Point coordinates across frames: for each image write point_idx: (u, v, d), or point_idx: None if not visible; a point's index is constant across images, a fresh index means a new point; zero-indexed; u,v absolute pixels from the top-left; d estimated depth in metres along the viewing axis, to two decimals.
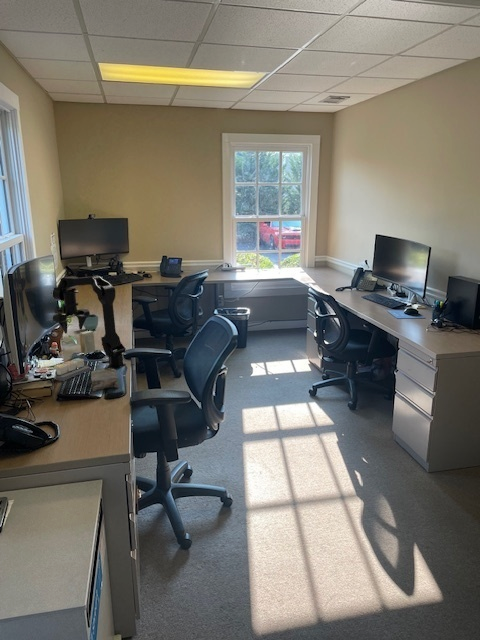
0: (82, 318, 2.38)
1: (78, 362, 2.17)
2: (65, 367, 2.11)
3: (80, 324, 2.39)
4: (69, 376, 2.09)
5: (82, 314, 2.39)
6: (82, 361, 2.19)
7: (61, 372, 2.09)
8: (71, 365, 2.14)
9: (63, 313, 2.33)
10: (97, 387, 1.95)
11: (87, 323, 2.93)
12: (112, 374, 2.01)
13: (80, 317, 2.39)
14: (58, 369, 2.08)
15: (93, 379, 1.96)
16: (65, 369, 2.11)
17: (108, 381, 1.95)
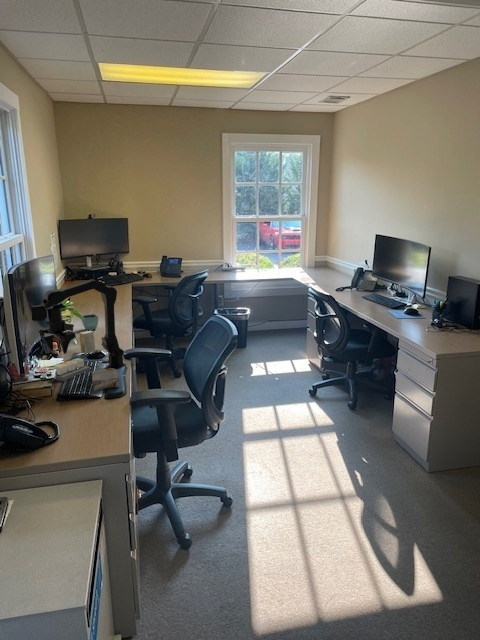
0: None
1: (78, 362, 2.17)
2: (65, 367, 2.11)
3: None
4: (69, 376, 2.09)
5: None
6: (82, 361, 2.19)
7: (61, 372, 2.09)
8: (71, 365, 2.14)
9: None
10: (98, 387, 1.95)
11: (87, 323, 2.93)
12: (113, 374, 2.01)
13: None
14: (58, 369, 2.08)
15: (94, 379, 1.96)
16: (65, 369, 2.11)
17: (109, 381, 1.96)
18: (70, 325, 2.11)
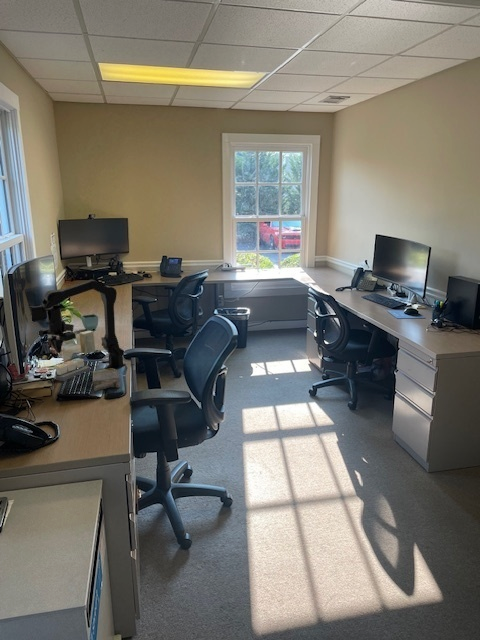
0: None
1: (78, 362, 2.17)
2: (65, 367, 2.11)
3: None
4: (69, 376, 2.09)
5: (57, 336, 2.06)
6: (82, 361, 2.19)
7: (61, 372, 2.09)
8: (71, 365, 2.14)
9: None
10: (98, 387, 1.95)
11: (87, 323, 2.93)
12: (113, 374, 2.01)
13: None
14: (58, 369, 2.08)
15: (95, 379, 1.96)
16: (65, 369, 2.11)
17: (109, 381, 1.96)
18: (70, 325, 2.10)
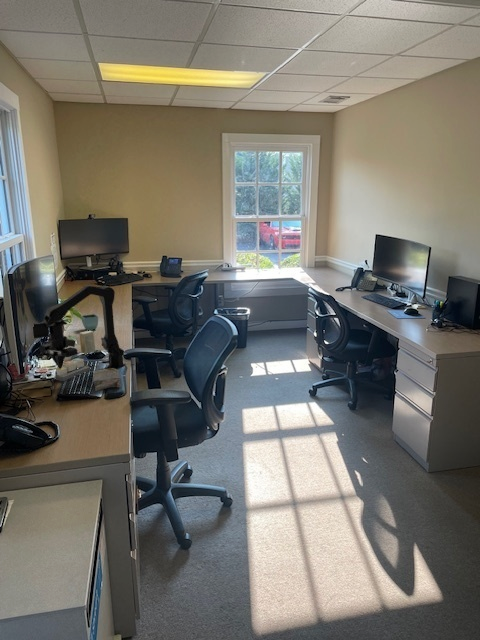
0: None
1: (78, 362, 2.17)
2: (65, 370, 2.11)
3: None
4: (69, 376, 2.09)
5: (59, 352, 2.07)
6: (82, 361, 2.19)
7: None
8: (71, 365, 2.14)
9: None
10: (99, 387, 1.95)
11: (87, 323, 2.93)
12: (114, 374, 2.01)
13: None
14: (58, 372, 2.08)
15: (95, 379, 1.96)
16: (65, 372, 2.11)
17: (110, 381, 1.96)
18: (72, 341, 2.12)
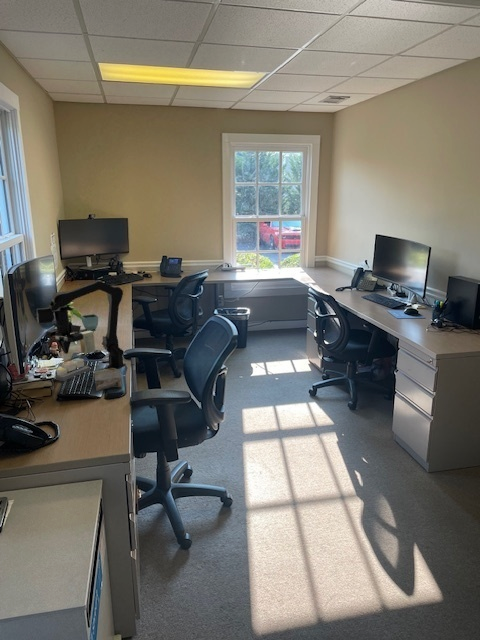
0: None
1: (78, 362, 2.17)
2: (65, 370, 2.11)
3: None
4: (69, 376, 2.09)
5: (64, 338, 2.09)
6: (82, 361, 2.19)
7: None
8: (71, 365, 2.14)
9: None
10: (100, 387, 1.95)
11: (87, 323, 2.93)
12: (115, 374, 2.01)
13: None
14: (58, 372, 2.09)
15: (96, 379, 1.96)
16: (65, 372, 2.11)
17: (111, 380, 1.96)
18: (77, 326, 2.14)
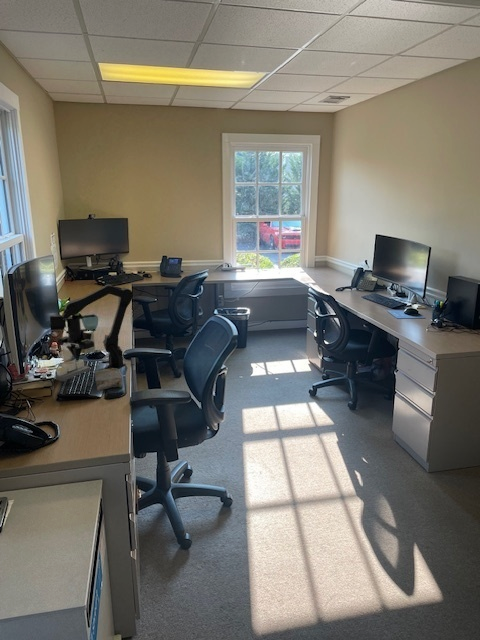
0: None
1: (78, 363, 2.17)
2: (65, 370, 2.11)
3: None
4: (69, 376, 2.09)
5: (76, 345, 2.15)
6: (82, 362, 2.19)
7: None
8: (71, 365, 2.14)
9: None
10: (101, 387, 1.95)
11: (87, 323, 2.93)
12: (116, 374, 2.01)
13: None
14: (58, 372, 2.09)
15: (97, 379, 1.96)
16: (65, 372, 2.11)
17: (112, 380, 1.96)
18: (88, 334, 2.20)
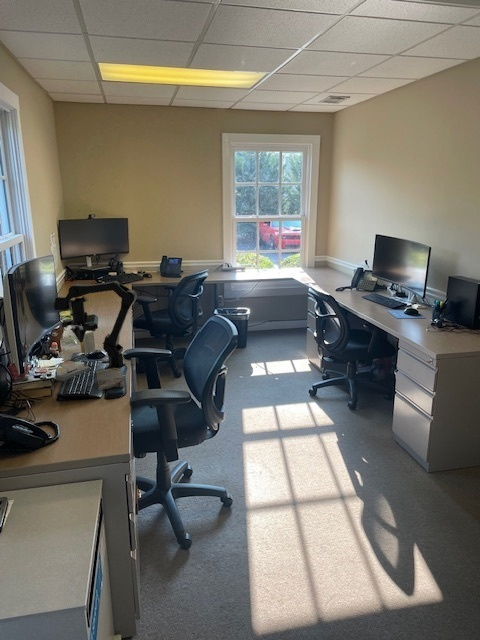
0: None
1: (78, 365, 2.17)
2: (65, 370, 2.11)
3: None
4: (69, 376, 2.09)
5: (80, 327, 2.20)
6: (82, 364, 2.19)
7: None
8: (71, 365, 2.14)
9: None
10: (103, 387, 1.95)
11: None
12: (117, 374, 2.01)
13: None
14: (58, 372, 2.09)
15: (99, 379, 1.96)
16: (65, 372, 2.11)
17: (113, 380, 1.96)
18: (92, 317, 2.25)
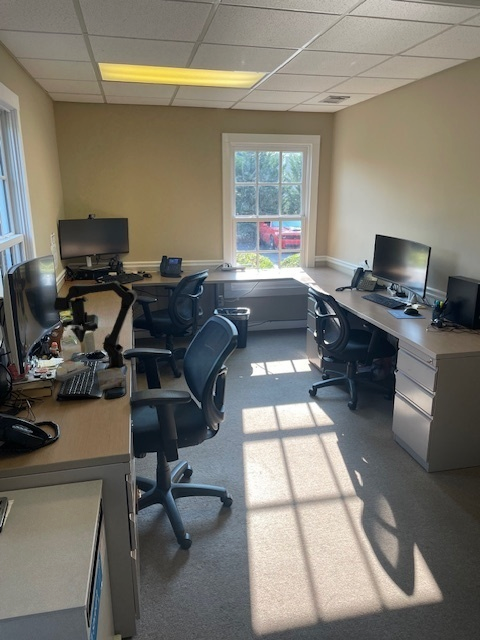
0: None
1: (78, 365, 2.17)
2: (65, 370, 2.11)
3: None
4: (69, 376, 2.09)
5: (80, 327, 2.20)
6: (82, 364, 2.19)
7: None
8: (71, 365, 2.14)
9: None
10: (104, 387, 1.95)
11: None
12: (118, 374, 2.01)
13: None
14: (58, 372, 2.09)
15: (100, 379, 1.96)
16: (65, 372, 2.11)
17: (114, 380, 1.96)
18: (92, 317, 2.25)
